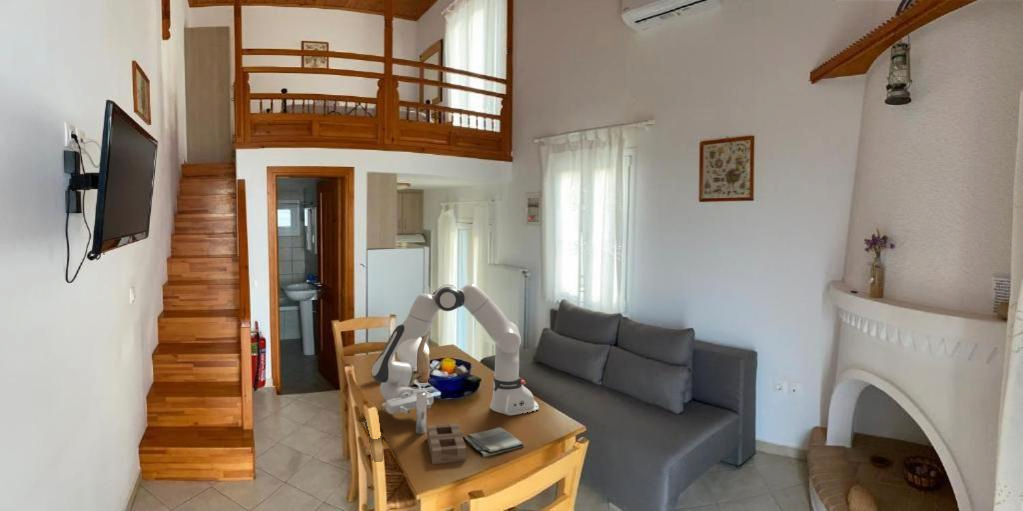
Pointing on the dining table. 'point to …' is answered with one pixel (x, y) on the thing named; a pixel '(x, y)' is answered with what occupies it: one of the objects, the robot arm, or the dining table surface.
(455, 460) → the bore block
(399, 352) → the decorative vase
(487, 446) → the dish towel
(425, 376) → the bird sculpture
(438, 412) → the dining table surface
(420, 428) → the pin
